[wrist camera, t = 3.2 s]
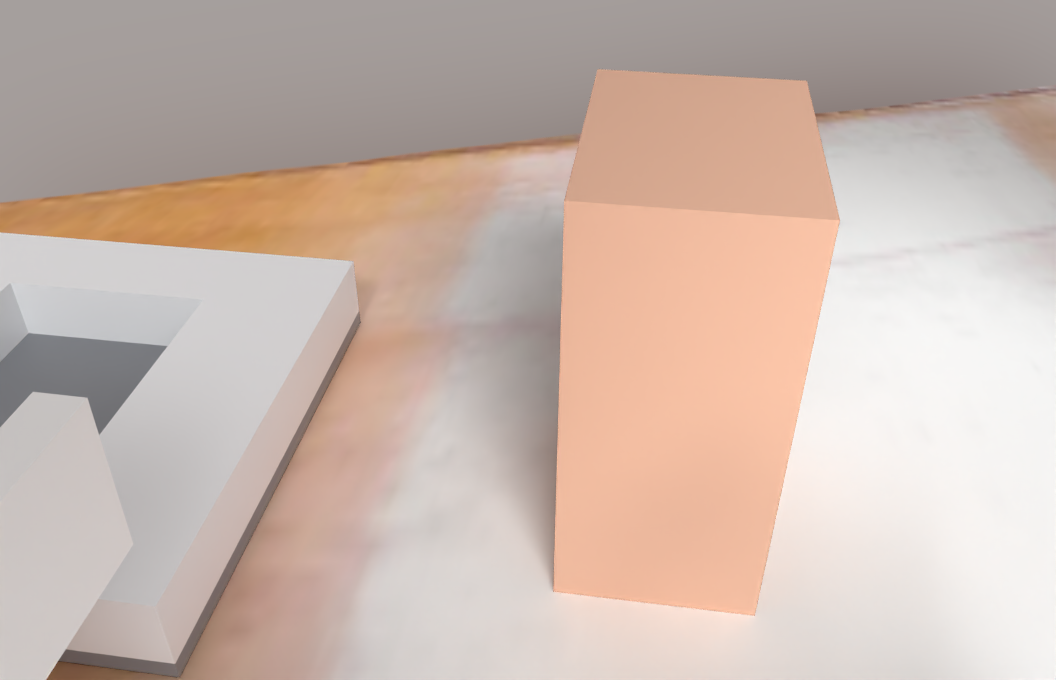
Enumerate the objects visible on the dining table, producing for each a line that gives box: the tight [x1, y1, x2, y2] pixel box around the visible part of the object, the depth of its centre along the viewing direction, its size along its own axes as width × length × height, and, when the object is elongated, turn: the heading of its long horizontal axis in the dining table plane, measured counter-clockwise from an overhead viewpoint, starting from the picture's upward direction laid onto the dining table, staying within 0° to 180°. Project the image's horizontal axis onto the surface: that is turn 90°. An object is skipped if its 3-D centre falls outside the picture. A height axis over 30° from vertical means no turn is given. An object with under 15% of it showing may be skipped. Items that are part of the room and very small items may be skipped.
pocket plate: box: [0, 233, 361, 677], centre depth 28 cm, size 15×15×2 cm
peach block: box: [553, 69, 840, 616], centre depth 24 cm, size 5×7×11 cm
